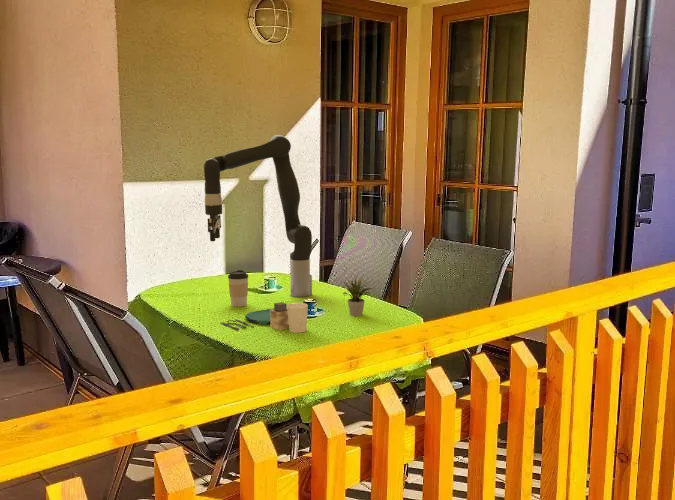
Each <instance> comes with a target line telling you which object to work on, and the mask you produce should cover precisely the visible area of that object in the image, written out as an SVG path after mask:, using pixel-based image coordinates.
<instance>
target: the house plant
mask: <svg viewBox="0 0 675 500" xmlns="http://www.w3.org/2000/svg"><path fill="white" fill-rule="evenodd" d="M363 280H364V278H360V279H359V280H358V282H357V277H355V278H354V282H353V281H352V280H349V282H350V285H351V286H350V285H349V284H348V282H347V281H341V283H343V284H344V285H345V286H346V287H347V288H346V289H345V290H346V291H348V292H343V293H342V295H343V297H344V296H346V295H348V296H349V297H350V298H348V299H347V304H348V309H349V315H350V317H351V316H352V317H360V316H363V311H364V307H365V299H364V298H362V297H364V296H370V295H372V293H371V292H370V290H373V289H374V288H373V287H372V288H371V287H366V286H367V285H368V284H369V283H371V280H370V281H367V282H366V283H365V284H362V283H363ZM364 287H366V288H364Z"/></svg>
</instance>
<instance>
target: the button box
mask: <svg viewBox="0 0 675 500" xmlns="http://www.w3.org/2000/svg"><path fill="white" fill-rule="evenodd" d="M271 309H272V308H271ZM269 323H270V325H269V326H270V327H271V328H272V329H275V330H277V331H279V330H280V331H281V330H286V329H289V324H288V310H284V311H277V310H274V309H272V310H270V322H269Z"/></svg>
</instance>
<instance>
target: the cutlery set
mask: <svg viewBox="0 0 675 500" xmlns="http://www.w3.org/2000/svg"><path fill="white" fill-rule="evenodd" d="M272 309H274V307H273V308H266V309H261V310H255V311H249V312H247V314H245V315H244V318H245V319H246V320H248V321H250V322H253V323H259V324H260V325H262V326H266V325H267V324H268V323H270V310H272ZM229 321H233V322H229ZM235 322H236V323H235ZM237 322H238V323H237ZM239 323H241V324H239ZM219 324H221V325H222V326H227V327H228V328H230V327H231V329H232V330H236V331H239V330H240V329H239V327H236V326H240V327H241V328H243V329H247V326H249V327H251V328H252V329H253V328H254V327H255V326H254V325H251V324H249V323H248V322H246V321H243V320H240V319H234V320H232V319H229V320H227V321H226V322H223V321H222V322H219ZM232 325H236V326H232Z"/></svg>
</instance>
